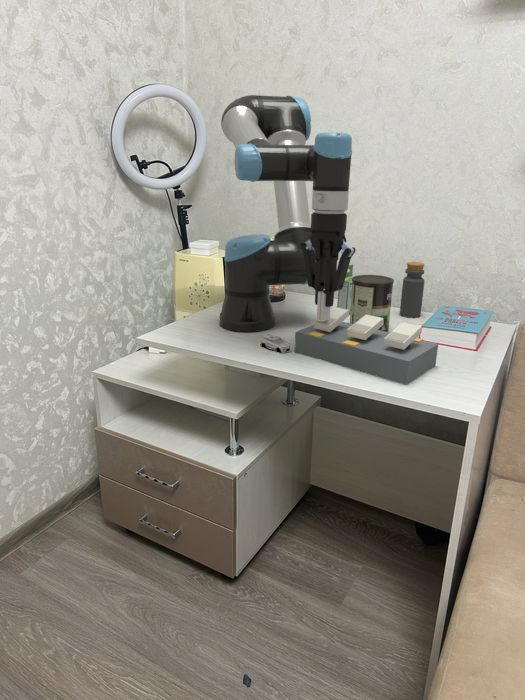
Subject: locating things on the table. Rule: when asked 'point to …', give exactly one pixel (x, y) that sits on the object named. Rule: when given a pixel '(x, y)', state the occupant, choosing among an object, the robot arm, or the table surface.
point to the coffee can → (371, 298)
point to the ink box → (346, 291)
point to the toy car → (275, 343)
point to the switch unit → (367, 353)
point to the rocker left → (332, 319)
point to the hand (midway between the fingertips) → (323, 319)
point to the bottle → (412, 290)
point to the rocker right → (403, 335)
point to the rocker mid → (365, 327)
